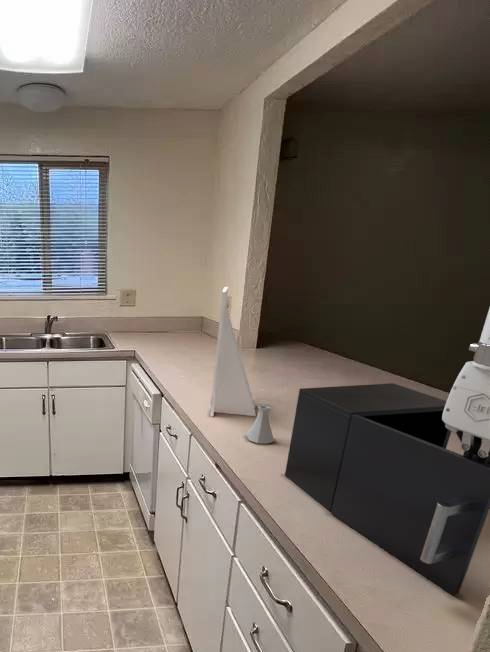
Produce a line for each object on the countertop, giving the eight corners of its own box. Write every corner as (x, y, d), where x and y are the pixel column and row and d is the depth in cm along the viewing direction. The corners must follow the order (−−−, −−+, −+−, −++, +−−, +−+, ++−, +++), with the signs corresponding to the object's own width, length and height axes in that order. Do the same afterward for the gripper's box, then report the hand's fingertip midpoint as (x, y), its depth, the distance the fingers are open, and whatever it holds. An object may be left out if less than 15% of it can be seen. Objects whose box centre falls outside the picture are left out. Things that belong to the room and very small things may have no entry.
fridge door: (428, 603, 66) (471, 477, 59) (309, 517, 88) (329, 417, 80) (458, 594, 68) (503, 470, 60) (334, 512, 89) (356, 414, 82)
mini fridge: (430, 501, 94) (459, 405, 86) (329, 511, 90) (351, 412, 82) (372, 467, 108) (393, 383, 101) (284, 475, 105) (299, 388, 97)
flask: (256, 445, 121) (261, 412, 118) (241, 435, 128) (245, 403, 124) (278, 443, 123) (284, 410, 119) (263, 433, 129) (267, 401, 126)
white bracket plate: (256, 421, 139) (273, 292, 125) (210, 416, 143) (222, 291, 130) (254, 402, 157) (270, 287, 143) (213, 398, 161) (224, 286, 147)
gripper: (436, 349, 65) (406, 458, 72) (558, 373, 52) (508, 506, 58) (474, 346, 67) (441, 453, 73) (602, 369, 53) (549, 498, 60)
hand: (471, 476), depth 66 cm, fingers closed
